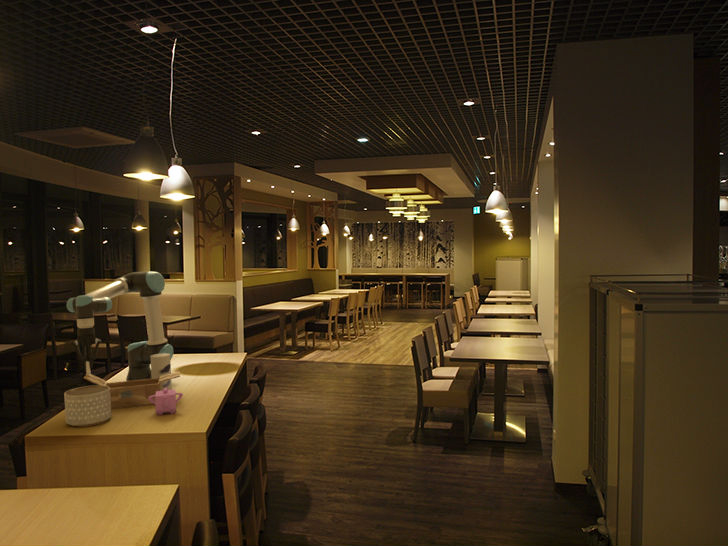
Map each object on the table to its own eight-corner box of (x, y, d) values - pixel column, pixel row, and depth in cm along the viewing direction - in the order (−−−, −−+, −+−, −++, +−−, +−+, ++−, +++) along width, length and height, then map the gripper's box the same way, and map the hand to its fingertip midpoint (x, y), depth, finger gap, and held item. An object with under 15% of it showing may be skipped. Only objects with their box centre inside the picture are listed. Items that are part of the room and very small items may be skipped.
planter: (64, 430, 249) (62, 397, 248) (67, 419, 266) (65, 388, 265) (111, 424, 256) (109, 392, 255) (111, 413, 273) (110, 383, 272)
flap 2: (160, 376, 300) (179, 371, 303) (160, 377, 300) (180, 372, 303) (159, 381, 288) (179, 375, 291) (159, 382, 288) (180, 376, 291)
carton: (107, 402, 294) (106, 382, 294) (161, 396, 302) (160, 377, 302) (103, 410, 279) (102, 389, 279) (160, 403, 287) (159, 384, 287)
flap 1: (106, 382, 292) (87, 373, 289) (106, 381, 292) (87, 372, 289) (103, 387, 281) (83, 378, 278) (103, 386, 281) (83, 377, 278)
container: (165, 394, 307) (163, 356, 306) (148, 393, 309) (146, 356, 308) (175, 389, 317) (173, 353, 316) (158, 389, 319) (156, 353, 318)
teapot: (188, 410, 274) (187, 387, 273) (165, 418, 262) (164, 394, 262) (167, 406, 282) (165, 384, 281) (143, 414, 270) (142, 391, 270)
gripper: (69, 328, 277) (72, 377, 278) (99, 326, 281) (102, 374, 282) (72, 327, 284) (75, 374, 286) (101, 325, 288) (104, 371, 290)
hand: (88, 374), depth 284 cm, fingers closed
